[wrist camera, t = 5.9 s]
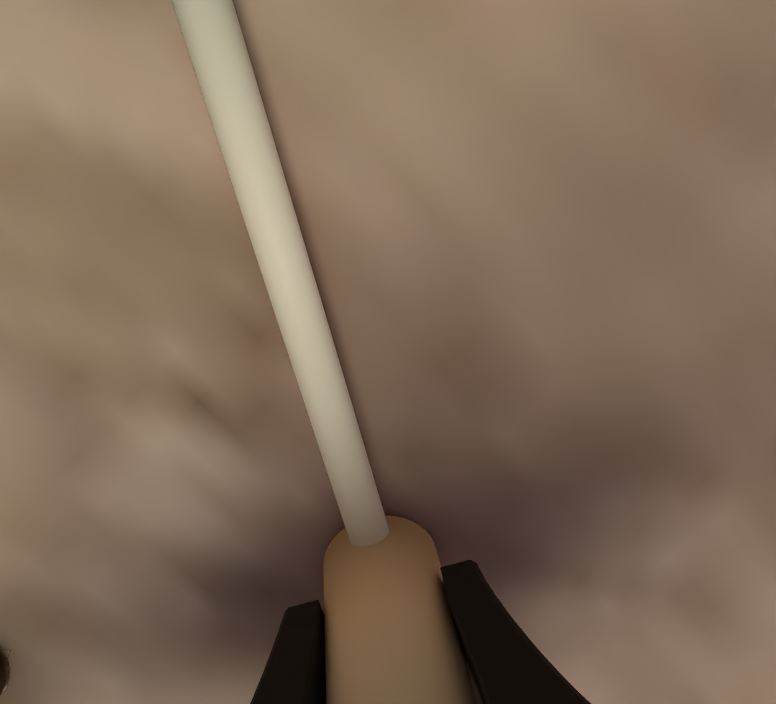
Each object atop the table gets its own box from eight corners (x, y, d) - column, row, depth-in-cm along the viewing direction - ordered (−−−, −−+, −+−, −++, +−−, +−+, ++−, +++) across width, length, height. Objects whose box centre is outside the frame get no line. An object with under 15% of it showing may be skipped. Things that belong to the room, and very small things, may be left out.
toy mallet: (232, -498, 8) (137, -1172, 4) (482, 580, 14) (551, 786, 10) (-104, -412, 8) (-596, -985, 3) (304, 628, 14) (301, 852, 10)
